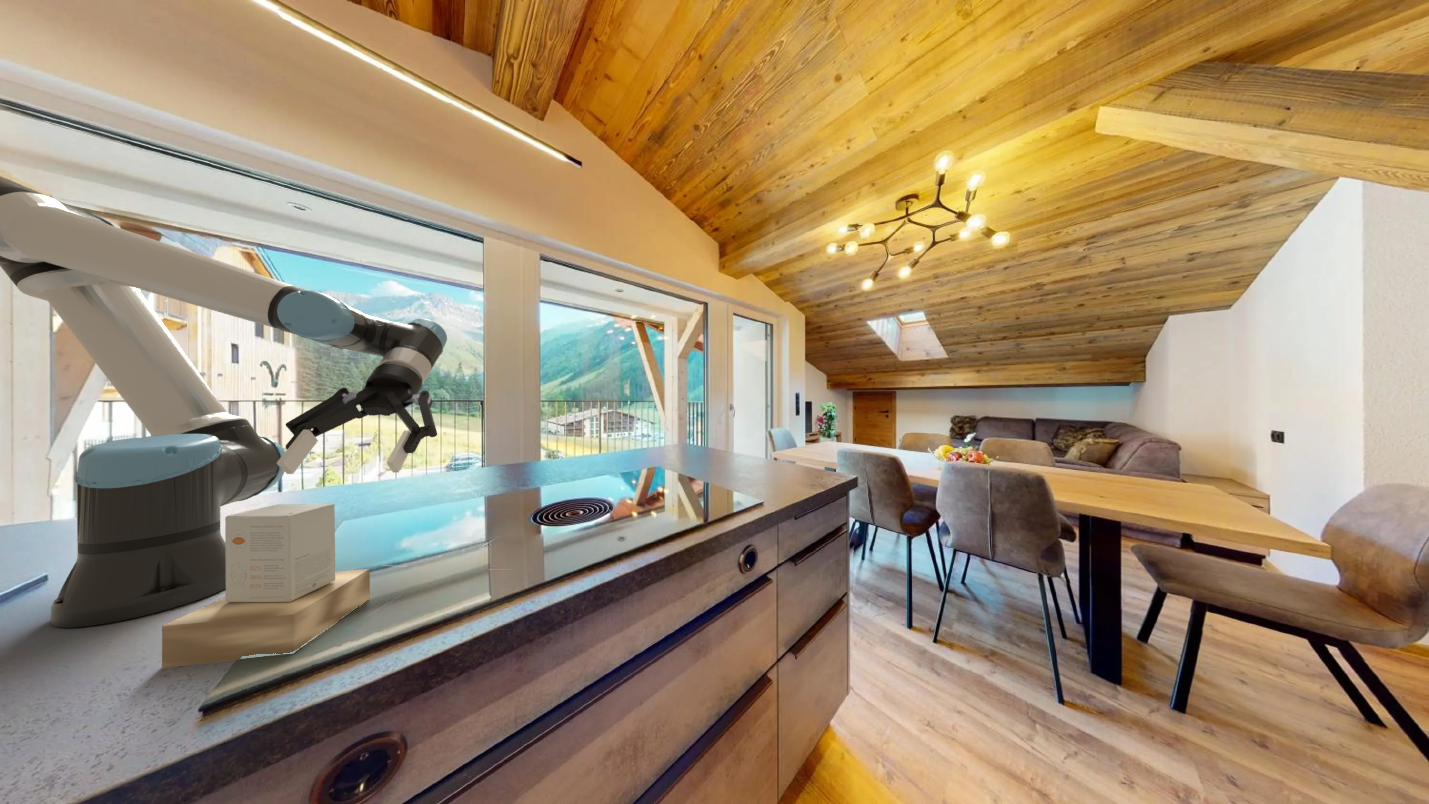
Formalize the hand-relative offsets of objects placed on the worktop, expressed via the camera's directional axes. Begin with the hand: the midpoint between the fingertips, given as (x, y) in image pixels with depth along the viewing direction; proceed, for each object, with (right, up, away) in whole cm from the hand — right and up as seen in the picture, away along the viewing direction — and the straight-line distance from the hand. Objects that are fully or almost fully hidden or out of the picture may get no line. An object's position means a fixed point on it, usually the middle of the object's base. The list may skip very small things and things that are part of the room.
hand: (340, 468), depth 58 cm
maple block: (+2, -19, -10) cm, 22 cm away
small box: (+2, -14, -10) cm, 17 cm away
